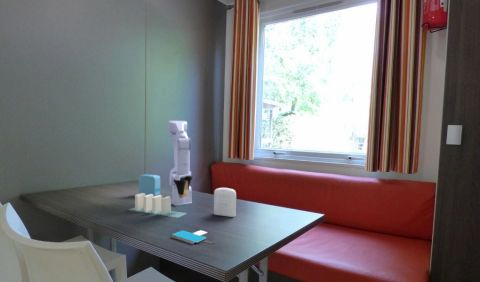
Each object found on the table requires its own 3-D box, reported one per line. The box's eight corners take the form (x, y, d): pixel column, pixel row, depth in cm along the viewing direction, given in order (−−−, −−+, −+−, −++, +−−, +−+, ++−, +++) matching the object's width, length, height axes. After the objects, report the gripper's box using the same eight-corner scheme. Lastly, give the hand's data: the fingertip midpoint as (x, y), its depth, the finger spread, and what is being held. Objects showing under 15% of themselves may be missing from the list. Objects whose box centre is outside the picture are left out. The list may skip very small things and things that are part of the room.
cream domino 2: (143, 211, 136) (143, 196, 136) (150, 208, 140) (150, 194, 140) (146, 211, 135) (146, 196, 135) (153, 209, 140) (153, 194, 140)
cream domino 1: (135, 210, 138) (134, 195, 138) (142, 207, 142) (142, 193, 142) (137, 210, 137) (137, 195, 137) (145, 207, 142) (145, 193, 142)
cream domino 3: (152, 212, 134) (152, 197, 134) (159, 209, 138) (159, 195, 138) (155, 213, 133) (154, 197, 133) (162, 210, 138) (162, 195, 138)
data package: (160, 196, 166) (160, 175, 166) (154, 198, 162) (154, 176, 162) (144, 194, 172) (144, 173, 171) (138, 195, 168) (138, 174, 167)
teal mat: (128, 210, 138) (128, 209, 138) (138, 206, 145) (138, 206, 145) (178, 218, 127) (178, 217, 127) (187, 214, 134) (187, 213, 134)
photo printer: (237, 215, 133) (237, 187, 133) (234, 217, 129) (234, 189, 128) (215, 212, 136) (216, 186, 136) (212, 215, 132) (212, 188, 132)
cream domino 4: (161, 214, 132) (161, 198, 132) (168, 211, 137) (168, 196, 136) (164, 214, 131) (164, 199, 131) (170, 211, 136) (170, 196, 136)
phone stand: (224, 239, 106) (224, 234, 106) (202, 250, 96) (202, 245, 96) (184, 227, 117) (184, 223, 117) (161, 236, 108) (161, 232, 108)
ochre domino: (178, 197, 135) (178, 182, 135) (185, 195, 140) (185, 180, 140) (181, 198, 135) (181, 182, 134) (187, 195, 139) (188, 181, 139)
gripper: (181, 162, 145) (181, 189, 145) (168, 165, 130) (168, 196, 131) (195, 162, 143) (195, 190, 144) (183, 166, 129) (183, 197, 130)
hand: (183, 193), depth 137 cm, fingers closed on ochre domino, 5 cm apart
